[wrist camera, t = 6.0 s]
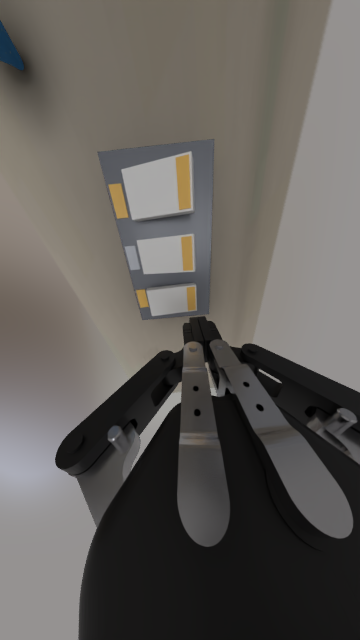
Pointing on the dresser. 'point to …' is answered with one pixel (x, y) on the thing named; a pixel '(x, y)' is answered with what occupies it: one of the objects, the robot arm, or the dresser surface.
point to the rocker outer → (172, 299)
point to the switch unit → (164, 220)
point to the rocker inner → (160, 187)
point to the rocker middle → (168, 254)
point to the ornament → (9, 50)
